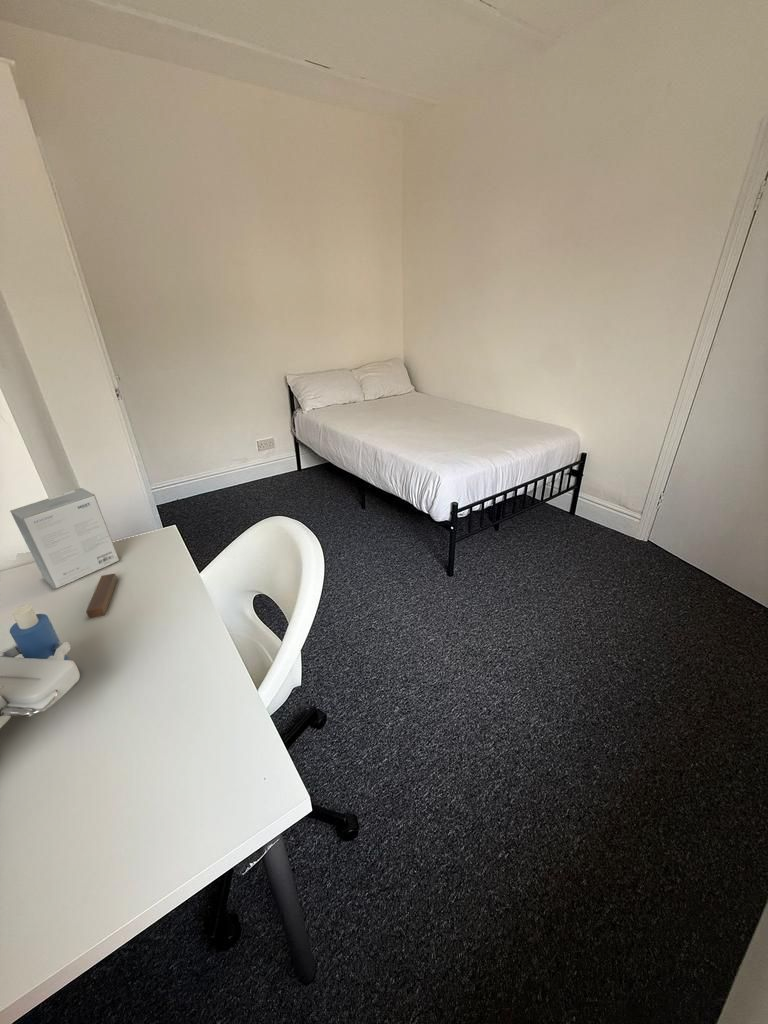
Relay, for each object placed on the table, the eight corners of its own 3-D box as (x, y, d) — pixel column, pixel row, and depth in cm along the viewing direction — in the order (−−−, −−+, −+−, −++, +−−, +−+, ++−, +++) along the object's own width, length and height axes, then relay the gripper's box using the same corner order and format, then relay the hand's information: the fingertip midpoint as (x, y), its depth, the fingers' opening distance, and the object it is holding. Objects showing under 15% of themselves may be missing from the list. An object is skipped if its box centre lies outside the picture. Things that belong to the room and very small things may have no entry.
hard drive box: (107, 552, 116) (83, 487, 107) (120, 561, 112) (96, 493, 103) (42, 579, 105) (8, 509, 96) (54, 590, 101) (20, 518, 92)
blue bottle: (37, 697, 74) (-5, 624, 66) (47, 675, 78) (9, 603, 70) (71, 689, 75) (34, 616, 67) (79, 667, 79) (45, 597, 72)
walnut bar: (88, 618, 92) (85, 611, 91) (103, 582, 104) (101, 575, 103) (104, 615, 93) (101, 608, 92) (117, 579, 105) (114, 573, 104)
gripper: (29, 702, 59) (96, 632, 71) (-103, 694, 60) (-15, 627, 73) (46, 730, 62) (107, 659, 74) (-80, 723, 63) (0, 654, 76)
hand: (46, 643), depth 74 cm, fingers open, 6 cm apart
